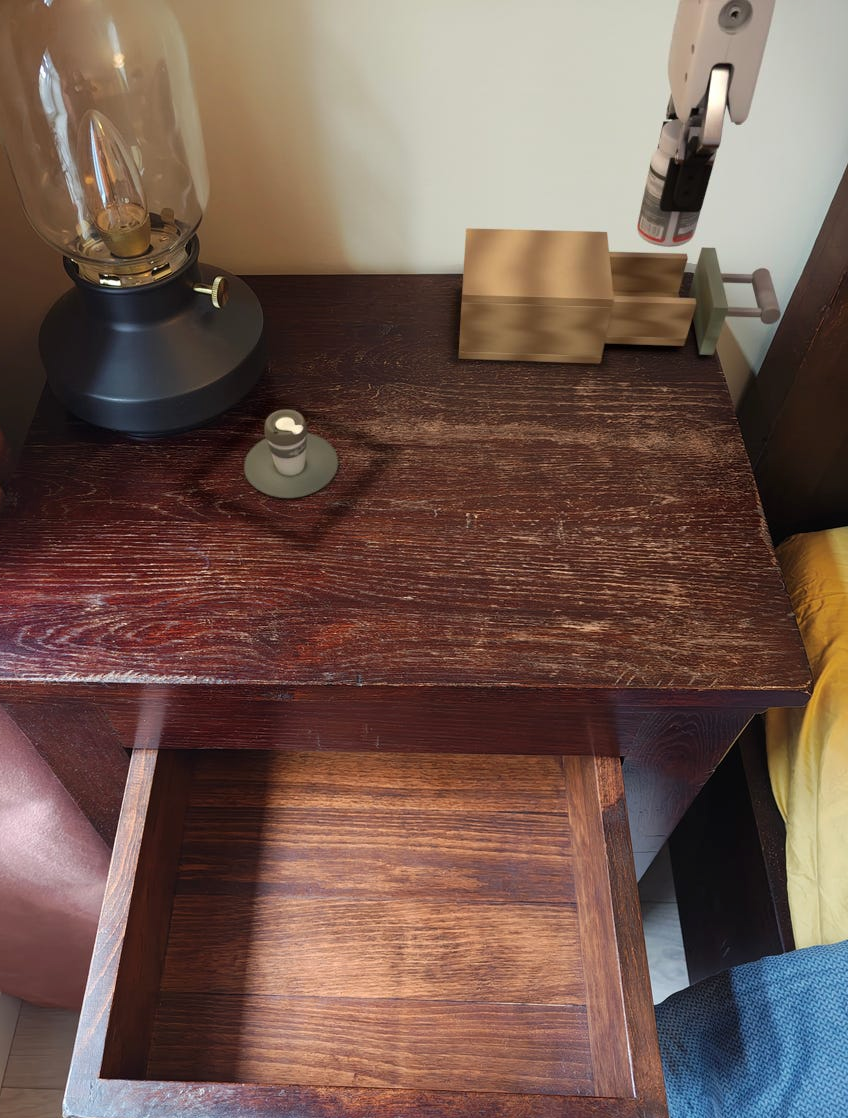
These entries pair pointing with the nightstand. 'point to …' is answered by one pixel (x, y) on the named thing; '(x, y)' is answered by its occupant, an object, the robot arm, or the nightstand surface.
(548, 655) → the nightstand surface
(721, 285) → the drawer
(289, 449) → the coffee cup
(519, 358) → the cabinet
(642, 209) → the pill bottle
